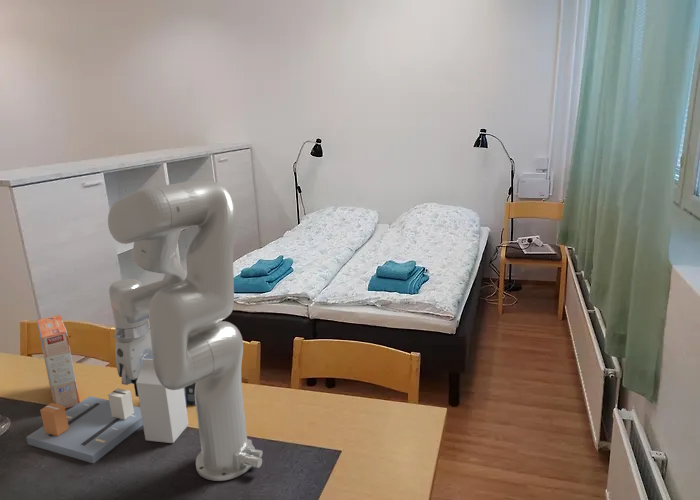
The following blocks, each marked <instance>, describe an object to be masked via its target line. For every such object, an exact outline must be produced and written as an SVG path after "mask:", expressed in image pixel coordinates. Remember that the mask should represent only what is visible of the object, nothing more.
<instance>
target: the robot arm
mask: <svg viewBox="0 0 700 500" xmlns="http://www.w3.org/2000/svg"><path fill="white" fill-rule="evenodd" d="M237 217H238V216H237V209H236V204H235V202H234V199H233V196H232V195H231V193H230V192H229V191H228V189H227V187H225V186H224V185H223V184H221V183H220V182H217V181H215V180H207V179H206V180H205V179H201V180H200V179H199V180H198V179H197V180H190V181H182V182H177V183H171V184H165V185H159V186H152V187H147V188H141V189H139V190H136V191H134V192H132V193H130V194H127V195H126V196H124V197H121V198H120V199H118V200H116V201H114V203H113V204H112V205H111V207H110V209H109V212H108V216H107V226H108V227H107V228H108V230H109V233H110V234H111V236H112V238H113V239H114V240H115V241H116V242H118V243H119V244H122V245H123V244H124V245H126V244H132V243H133V247H132V250H131V256H132V260H133V262H134V263H135V265H137V267H139V268H140V269H142V270H145V271H147V272H152V273H157V274H162V275H163V274H164V276H163V279H162V280H159V281H155V282H151V283H149V284H146V285H145V284H144V285H143V283H142V282H141V280H139V279H137V278H124V279H121V280H117V281H114V282H113V283H112V284H111V285H110V286H109V288H108V292H109V299H110V305H111V310H112V316H113V323H114V329H115V333H114V335H113V337H114V338H115V348H114V349H115V365H116V371H117V375H118V377H119V378H121V385H124V386H128V385H130V384H132V385H133V386H134V387H133V388H134V393H135V394H134V395H135V397H137V398H139V397H138V391H137V384H136V381H137V379H138V376H139V373H140V370H141V368H142V365H143V360H142V359H153V364H154V369H155V373H156V376H157V378H158V380H159V382H160V383H161V384H162V385H163V386H164V387H165V388H167V389H169V390H179V389H182V388H185V387H187V386H189V385H192V384H194V383H196V385H195V403H196V404H195V409H196V410H195V411H196V417H197V426H198V432H199V440H200V448H201V451H200V452H199V453H198V455H197V456H196V458H195V469H196V473H197V474H198V475H199V476H200V477H202V478H204V479H206V480H208V481H209V480H210V481H213V482H214V481H216V482H217V481H218V482H221V481H228V480H232V479H236V478H238V477H240V476H242V475H244V474H245V473H247V472H248V471H249V470H250V469H251V468H252V467H254V468H259V469H260V467H261V466H262V464H263V459H262V456H263V450H261V449H256V448H255V446H254V445H253V440H252V439H249V438H248V435H247V425H246V424H247V423H246V415H245V405H244V404H245V403H244V393H243V383H242V364H243V362H242V361H243V356H244V342H243V336H242V334H241V332H240V330H239V328H238V327H237V326H236V325H235V324H233V323H231V322H229V321H226V320H225V319H226V318H228V317H229V316H230V315H231V314H232V313H233V311H234V304H235V284H234V283H235V282H234V281H235V278H234V274H235V273H234V246H235V239H236V232H237V224H238V222H237V221H238V220H237V219H238V218H237ZM195 227H197V228H198V230H197V231H196V233H195V235H193V237H192V239H191V241H190V244H189V246H188V250H187V252H186V257H185V260H186V261H185V262H186V263H185V264H186V274H185V270H184V268H183V265H181V263H180V261H179V260H178V259H177V258H176V257H175V255H176V252H177V247H178V244H179V243H178V242H179V238H180V235H181V231H183V230H187V229H190V228H195ZM223 320H225V321H223Z"/></svg>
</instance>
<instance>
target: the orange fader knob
mask: <svg viewBox="0 0 700 500" xmlns="http://www.w3.org/2000/svg"><path fill="white" fill-rule="evenodd" d="M39 411H40V415H41V420H42V423H43V426H44V429H45V433H48V434H52V435H56V436H59V435H60V434H62V433H63V432H65V431H66V430H68V429H69V426H68V421H67V416H66V411H67V410H66V409H65V406H63V405H59V404H54V402H51V403H48V405H46V406H44V407H43V408H41V409H40V410H39Z"/></svg>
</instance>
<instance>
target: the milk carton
mask: <svg viewBox="0 0 700 500" xmlns="http://www.w3.org/2000/svg"><path fill="white" fill-rule="evenodd" d="M142 360H143V365H142V368H141V370H140V373H139V376H138V379H137V381H136V384H137V391H138V397H137V398H138V401H139V407H140V409H141V415H142V421H143V425H142V426H143V432H144V439H145V441H149V442H160V443H169V444H174V443H175V441H176V440H177V439H178V438H179V437H180V436H181V435H182V433H183V432H184V431H185V430H186V429H187V427H188V426H189V418H188V410H187V404H186V402H185V394H184V388H182V389H179V390H169V389H167V388H165V387H164V386H163V385H162V384H161V383H160V382H159V380H158V378H157V376H156V373H155V369H154V364H153V359H142Z"/></svg>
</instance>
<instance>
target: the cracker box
mask: <svg viewBox="0 0 700 500" xmlns="http://www.w3.org/2000/svg"><path fill="white" fill-rule="evenodd" d="M36 322H37V328H38V334H39V339H40V344H41V349H42V354H43V360H44V363H45V368H46V375H47V378H48V384H49V388H50V393H51V397H52V400H53V403H54V404H59V405H63V406H65V410H67V409H71V408H72V407H74V406H75V405H77V404H78V403H80V402H81V401H80V396H79V392H78V391H79V390H78V386H77V381H76V379H77V378H76V376H75V375H76V374H75V370H74V364H73V359H72V353H71V347H70V342H69V341H70V340H69V336H68V331H67V328H66V326H65V324H64V321H63V318H62V315H60V314H59V315H58V314H57V315H53V316H49V317H43V318H40V319H37V320H36Z"/></svg>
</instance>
